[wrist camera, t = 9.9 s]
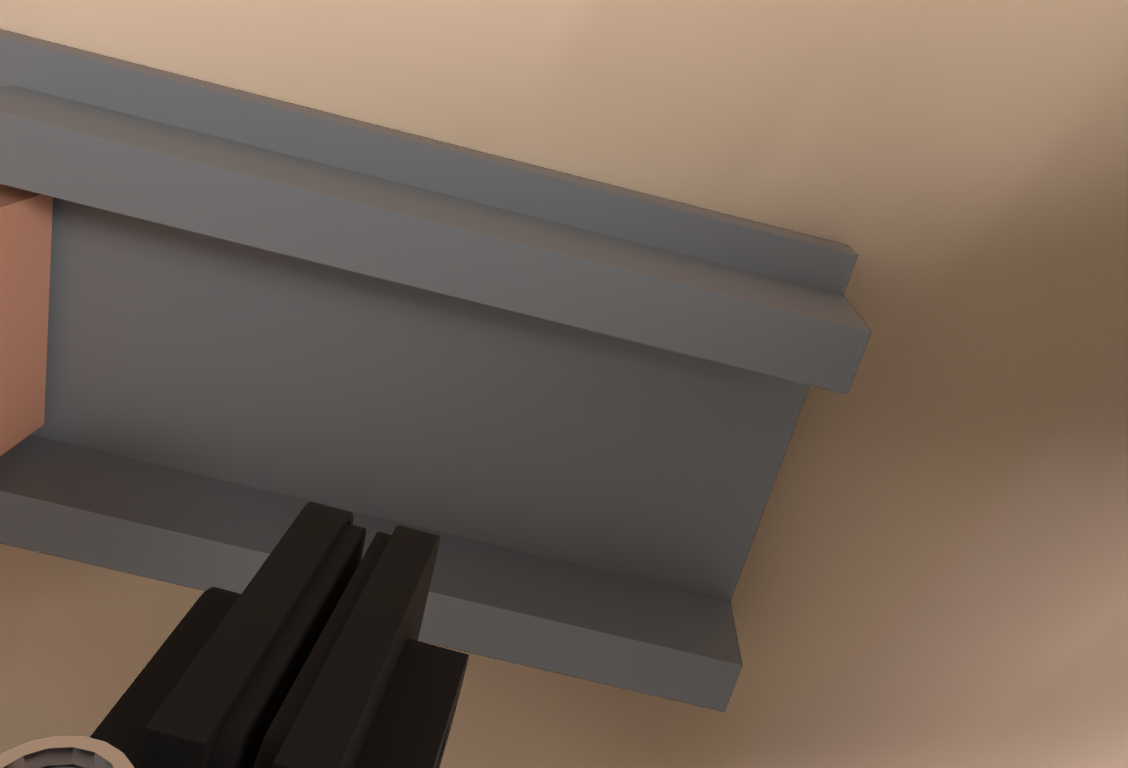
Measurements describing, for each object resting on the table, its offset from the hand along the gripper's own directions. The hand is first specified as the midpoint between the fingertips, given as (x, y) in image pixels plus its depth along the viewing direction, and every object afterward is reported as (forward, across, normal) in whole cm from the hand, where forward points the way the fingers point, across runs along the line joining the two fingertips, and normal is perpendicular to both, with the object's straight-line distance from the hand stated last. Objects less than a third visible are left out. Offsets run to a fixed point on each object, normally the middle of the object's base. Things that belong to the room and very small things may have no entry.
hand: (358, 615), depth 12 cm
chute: (+8, +8, +1) cm, 11 cm away
